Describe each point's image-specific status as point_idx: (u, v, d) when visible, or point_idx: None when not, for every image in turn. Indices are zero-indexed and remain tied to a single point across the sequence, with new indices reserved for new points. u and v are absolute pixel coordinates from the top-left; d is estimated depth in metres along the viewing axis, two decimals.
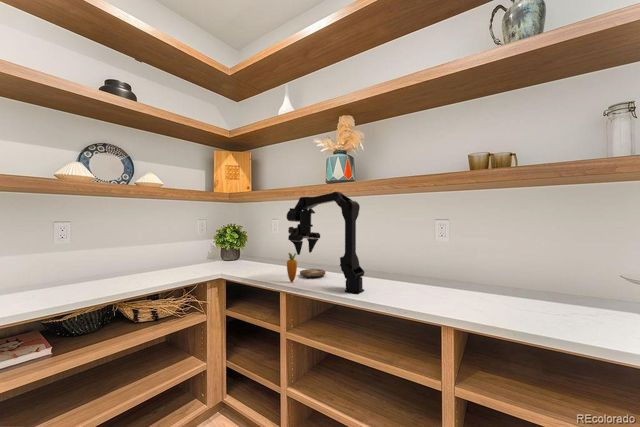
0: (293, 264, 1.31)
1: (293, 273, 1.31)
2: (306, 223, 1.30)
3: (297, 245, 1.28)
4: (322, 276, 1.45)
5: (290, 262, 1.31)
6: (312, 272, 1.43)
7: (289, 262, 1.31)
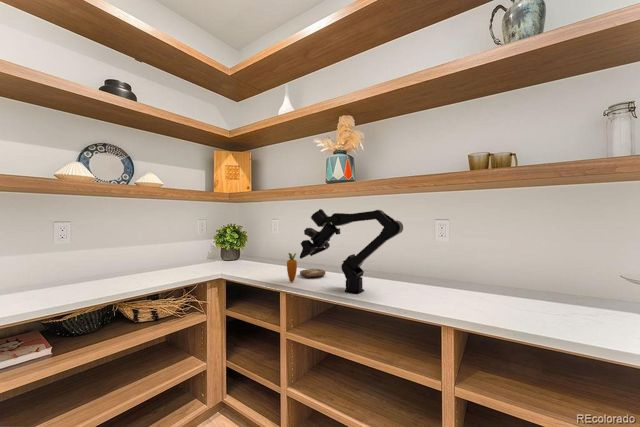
0: (293, 264, 1.31)
1: (293, 273, 1.31)
2: (326, 238, 1.22)
3: (305, 251, 1.22)
4: (322, 276, 1.45)
5: (290, 262, 1.31)
6: (312, 272, 1.43)
7: (289, 262, 1.31)
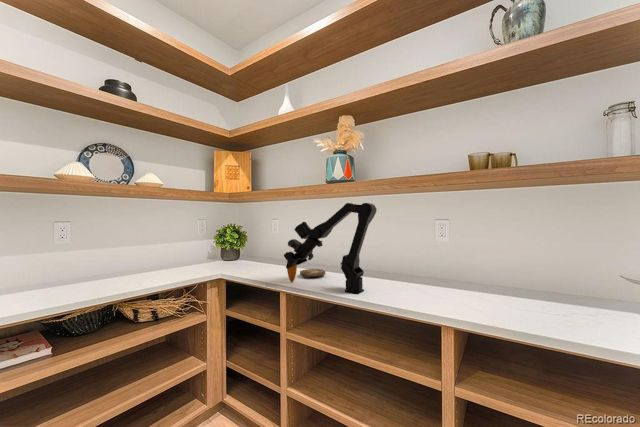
0: None
1: (293, 273, 1.31)
2: (308, 250, 1.26)
3: None
4: (322, 276, 1.45)
5: None
6: (312, 272, 1.43)
7: None
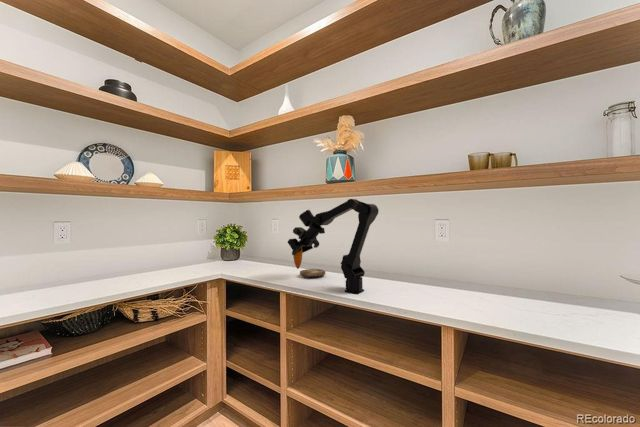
0: None
1: (298, 260, 1.36)
2: (311, 237, 1.30)
3: None
4: (322, 276, 1.45)
5: None
6: (312, 272, 1.43)
7: None
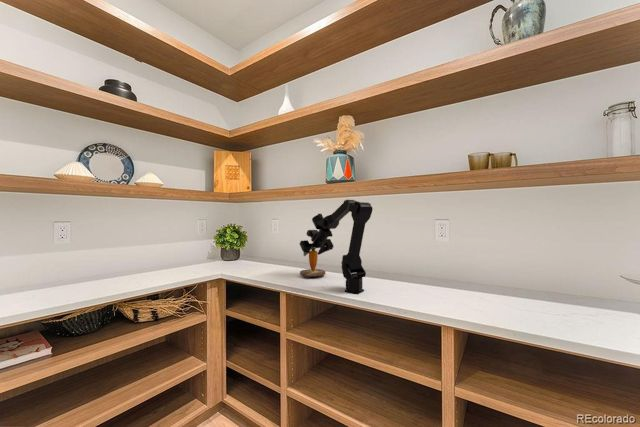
0: (312, 254, 1.44)
1: (312, 263, 1.45)
2: (320, 239, 1.37)
3: None
4: (322, 276, 1.45)
5: (310, 252, 1.45)
6: (312, 272, 1.43)
7: (309, 252, 1.45)
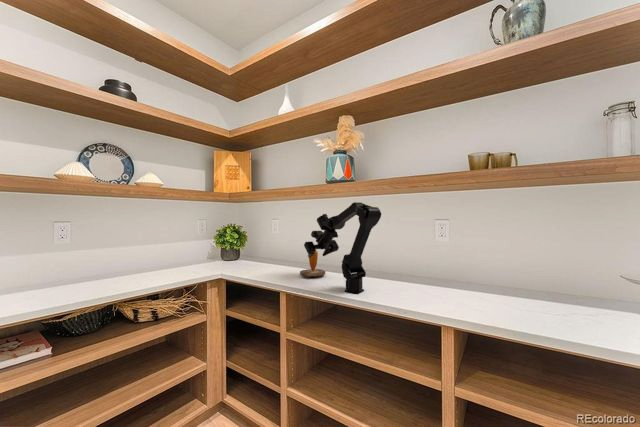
0: None
1: (313, 263, 1.45)
2: (325, 240, 1.33)
3: None
4: (322, 276, 1.45)
5: None
6: (312, 272, 1.43)
7: None
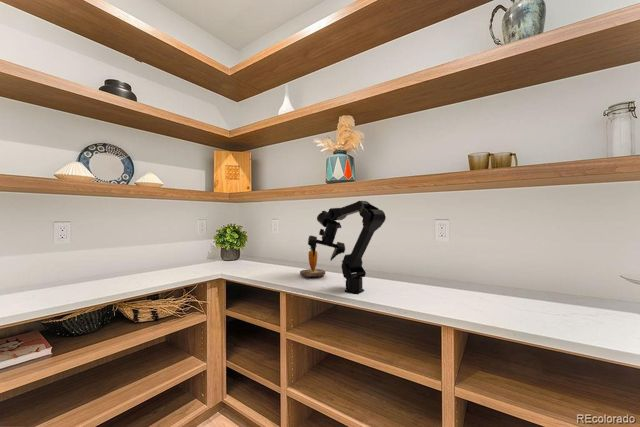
0: (312, 254, 1.44)
1: (312, 263, 1.45)
2: (326, 233, 1.29)
3: None
4: (322, 276, 1.45)
5: (310, 252, 1.45)
6: (312, 272, 1.43)
7: (309, 252, 1.45)
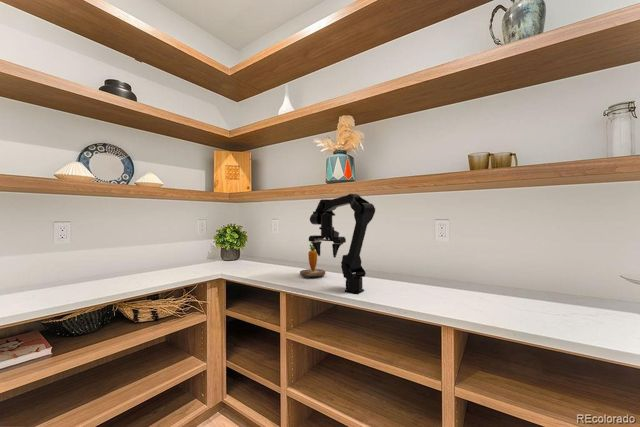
0: (312, 254, 1.44)
1: (312, 263, 1.45)
2: (321, 225, 1.31)
3: None
4: (322, 276, 1.45)
5: (310, 252, 1.45)
6: (312, 272, 1.43)
7: (309, 252, 1.45)
